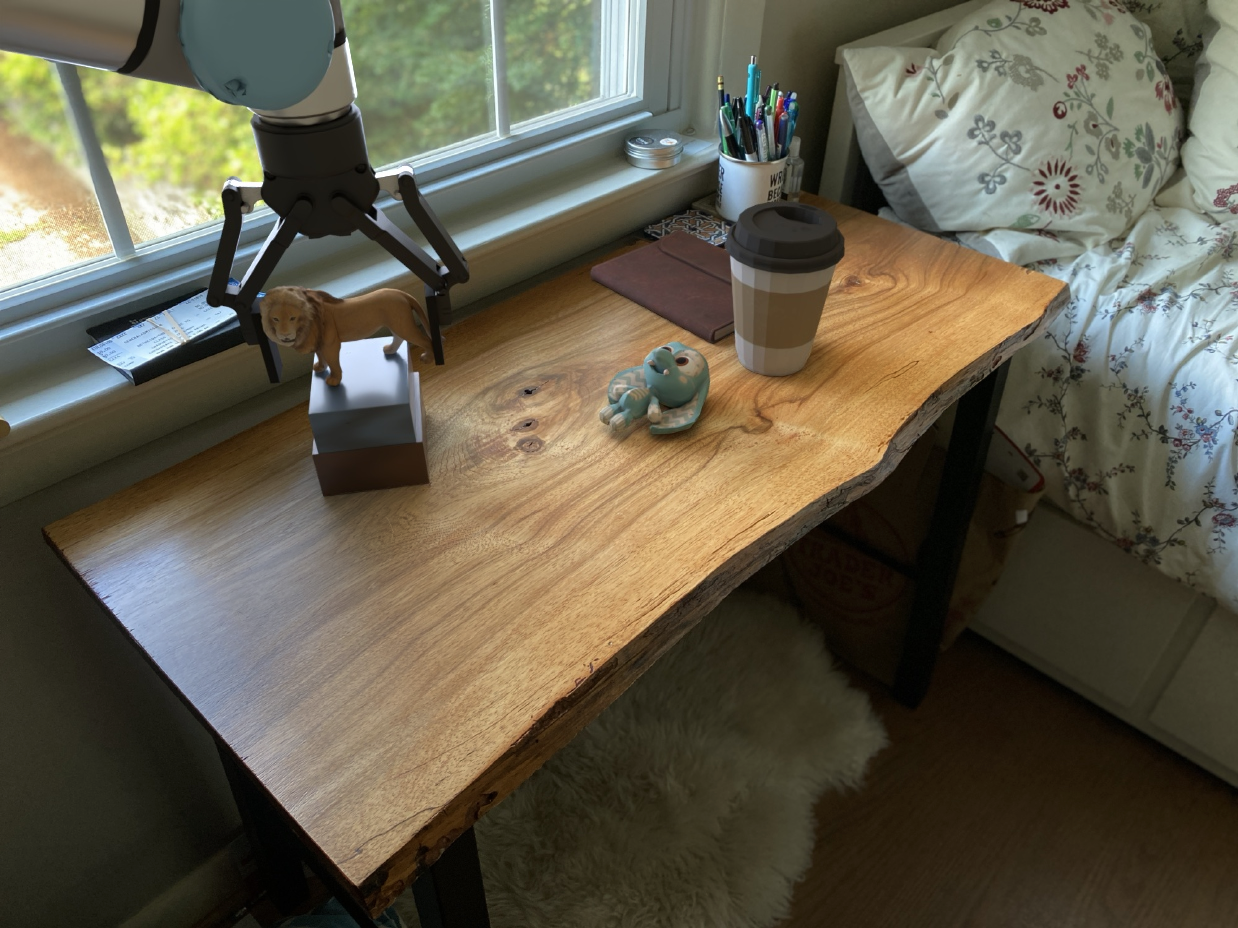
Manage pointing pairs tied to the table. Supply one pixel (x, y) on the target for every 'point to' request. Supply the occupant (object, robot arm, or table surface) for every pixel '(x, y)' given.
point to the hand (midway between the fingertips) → (359, 366)
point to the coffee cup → (780, 282)
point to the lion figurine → (341, 323)
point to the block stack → (369, 421)
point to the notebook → (677, 282)
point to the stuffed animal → (659, 390)
